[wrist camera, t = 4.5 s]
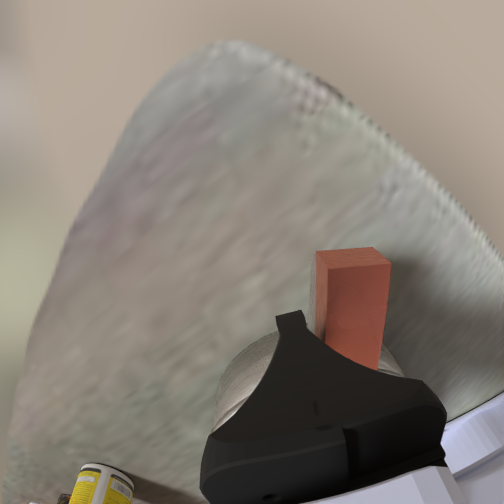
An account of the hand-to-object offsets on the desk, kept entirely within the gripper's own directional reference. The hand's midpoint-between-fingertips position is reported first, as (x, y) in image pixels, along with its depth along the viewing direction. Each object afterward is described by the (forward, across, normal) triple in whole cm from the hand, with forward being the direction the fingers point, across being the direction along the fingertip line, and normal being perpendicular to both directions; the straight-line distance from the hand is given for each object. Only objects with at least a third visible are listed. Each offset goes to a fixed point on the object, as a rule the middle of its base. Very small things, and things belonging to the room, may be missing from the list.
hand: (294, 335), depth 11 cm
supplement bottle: (+6, +20, +17) cm, 26 cm away
